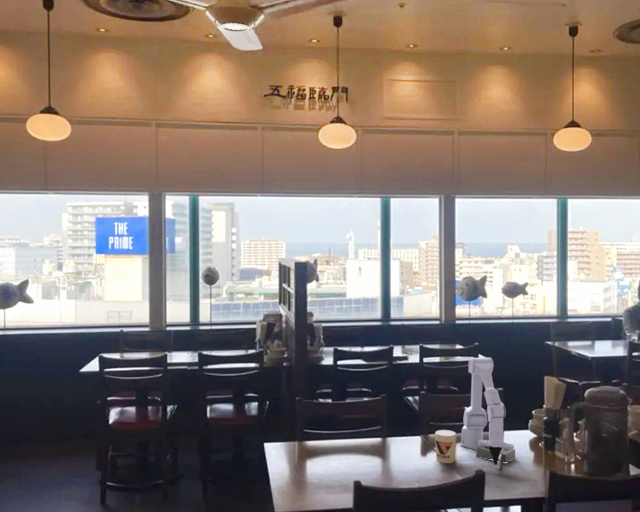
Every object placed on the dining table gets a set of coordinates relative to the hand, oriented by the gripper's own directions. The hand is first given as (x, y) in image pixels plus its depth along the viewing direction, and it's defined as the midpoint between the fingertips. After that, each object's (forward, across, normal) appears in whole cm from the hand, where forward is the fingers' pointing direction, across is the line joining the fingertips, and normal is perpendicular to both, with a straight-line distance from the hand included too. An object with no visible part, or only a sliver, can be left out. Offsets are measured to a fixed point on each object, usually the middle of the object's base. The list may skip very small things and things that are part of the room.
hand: (495, 464), depth 268 cm
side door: (+1, +2, +2) cm, 3 cm away
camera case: (+1, -2, +12) cm, 13 cm away
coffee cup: (+2, -22, -1) cm, 22 cm away
